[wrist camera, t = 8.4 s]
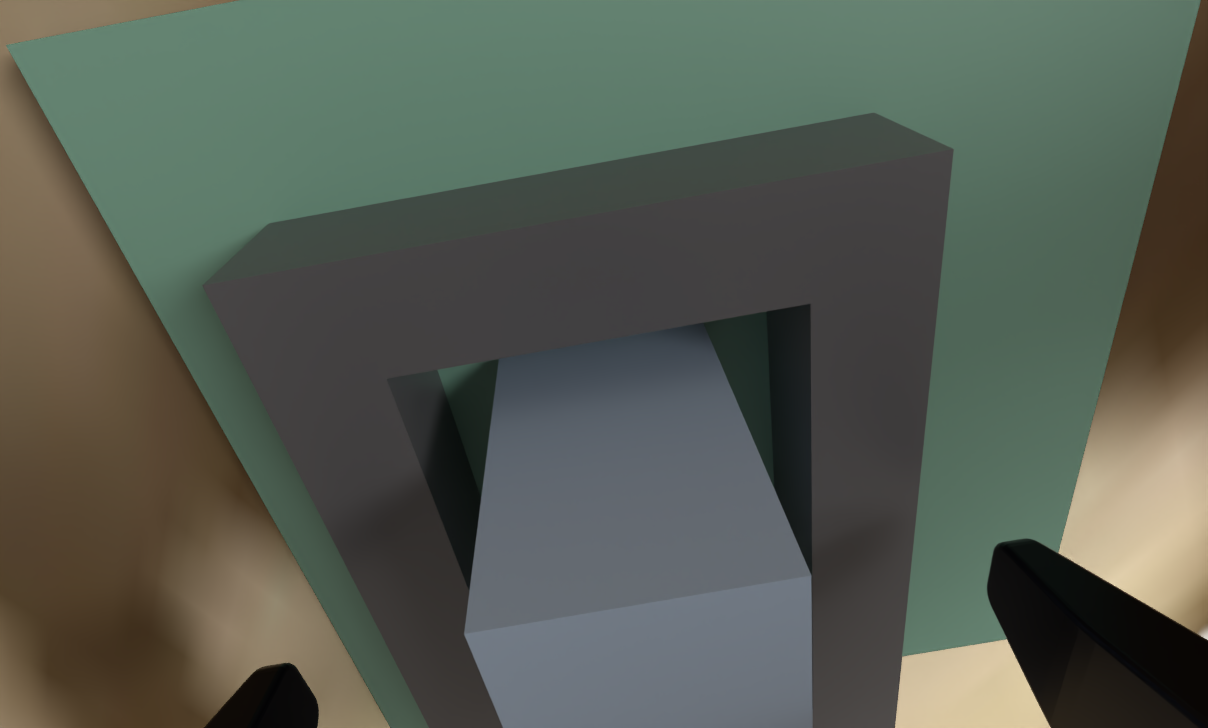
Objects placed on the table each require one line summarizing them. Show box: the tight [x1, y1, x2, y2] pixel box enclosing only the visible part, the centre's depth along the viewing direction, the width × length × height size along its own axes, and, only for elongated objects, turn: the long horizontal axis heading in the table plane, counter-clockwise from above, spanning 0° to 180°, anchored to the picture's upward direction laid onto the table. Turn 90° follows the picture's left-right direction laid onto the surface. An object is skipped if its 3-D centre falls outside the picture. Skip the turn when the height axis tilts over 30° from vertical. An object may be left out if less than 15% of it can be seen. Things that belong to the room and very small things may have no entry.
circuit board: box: [6, 0, 1201, 728], centre depth 11 cm, size 14×14×1 cm
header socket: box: [202, 113, 954, 728], centre depth 11 cm, size 8×11×2 cm
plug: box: [464, 323, 813, 728], centre depth 9 cm, size 3×6×5 cm, turn 10°
